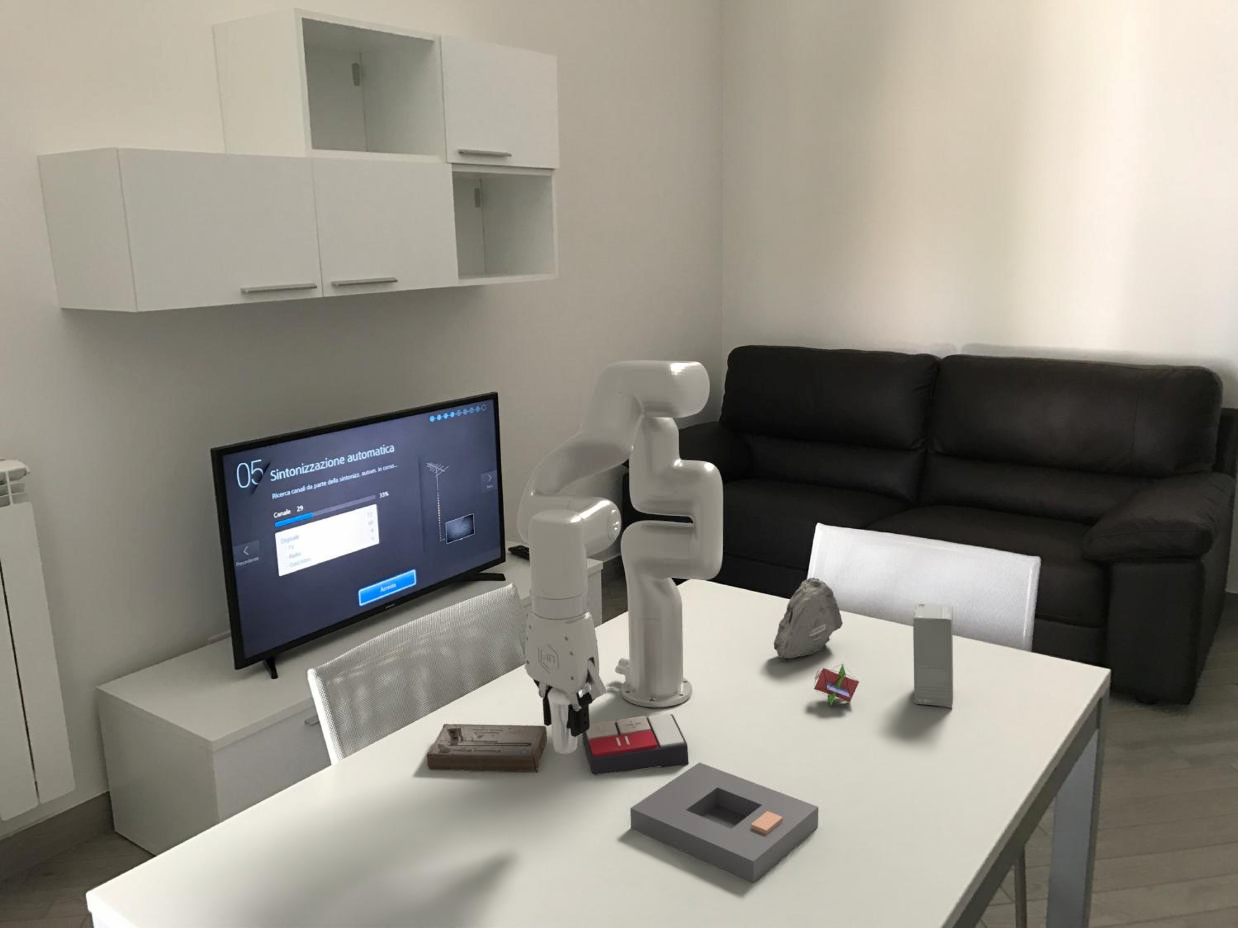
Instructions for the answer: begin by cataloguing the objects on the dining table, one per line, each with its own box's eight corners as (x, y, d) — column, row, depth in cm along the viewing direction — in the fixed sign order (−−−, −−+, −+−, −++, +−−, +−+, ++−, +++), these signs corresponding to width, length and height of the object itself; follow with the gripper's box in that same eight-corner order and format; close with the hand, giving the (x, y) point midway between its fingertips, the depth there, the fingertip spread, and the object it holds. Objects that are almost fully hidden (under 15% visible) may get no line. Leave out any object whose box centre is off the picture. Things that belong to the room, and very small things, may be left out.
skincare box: (952, 709, 174) (956, 621, 171) (908, 704, 176) (912, 617, 173) (953, 688, 182) (957, 604, 179) (911, 684, 184) (914, 600, 181)
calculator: (580, 722, 166) (672, 708, 168) (583, 746, 167) (674, 733, 169) (589, 754, 155) (687, 739, 157) (592, 780, 156) (689, 765, 158)
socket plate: (630, 827, 141) (630, 803, 141) (699, 780, 153) (699, 758, 152) (753, 882, 129) (753, 856, 128) (818, 826, 140) (818, 802, 140)
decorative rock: (825, 638, 206) (827, 566, 203) (850, 648, 201) (851, 575, 198) (764, 657, 198) (764, 583, 195) (788, 668, 192) (788, 592, 189)
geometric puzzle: (864, 682, 180) (837, 648, 179) (869, 699, 174) (842, 664, 173) (831, 704, 182) (804, 671, 181) (835, 722, 175) (807, 687, 174)
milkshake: (583, 758, 139) (582, 691, 137) (544, 754, 140) (543, 687, 138) (590, 741, 144) (590, 676, 141) (553, 737, 145) (552, 672, 142)
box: (537, 775, 157) (536, 756, 156) (426, 772, 159) (425, 753, 158) (548, 741, 167) (548, 724, 166) (445, 738, 169) (443, 721, 168)
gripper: (496, 597, 139) (504, 720, 144) (588, 625, 129) (594, 757, 133) (535, 581, 145) (542, 700, 149) (626, 607, 134) (631, 734, 139)
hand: (566, 725), depth 141 cm, fingers closed on milkshake, 4 cm apart
